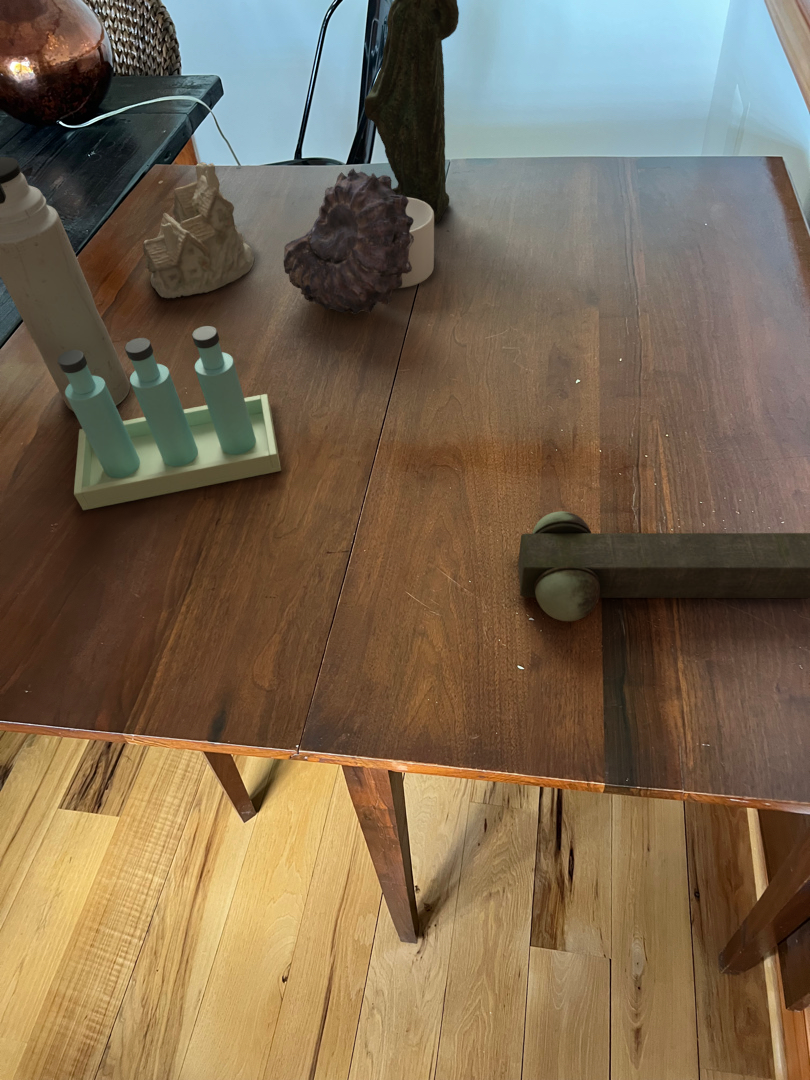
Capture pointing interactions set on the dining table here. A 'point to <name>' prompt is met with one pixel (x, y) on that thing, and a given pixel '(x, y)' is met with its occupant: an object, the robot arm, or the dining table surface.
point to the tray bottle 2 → (160, 405)
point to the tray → (163, 479)
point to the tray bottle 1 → (98, 416)
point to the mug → (420, 242)
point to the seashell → (353, 246)
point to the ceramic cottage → (197, 241)
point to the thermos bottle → (51, 285)
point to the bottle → (223, 393)
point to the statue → (414, 98)
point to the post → (655, 565)
